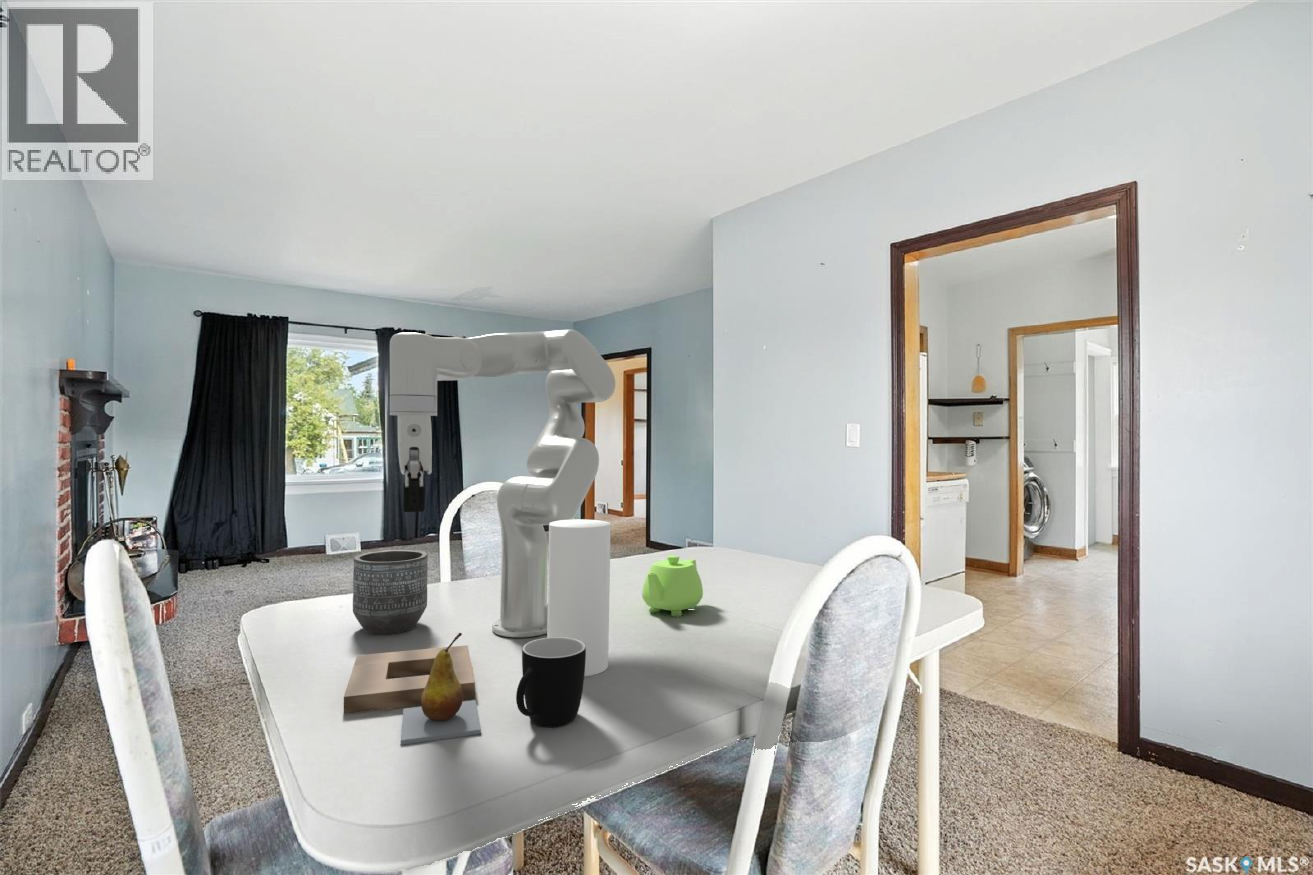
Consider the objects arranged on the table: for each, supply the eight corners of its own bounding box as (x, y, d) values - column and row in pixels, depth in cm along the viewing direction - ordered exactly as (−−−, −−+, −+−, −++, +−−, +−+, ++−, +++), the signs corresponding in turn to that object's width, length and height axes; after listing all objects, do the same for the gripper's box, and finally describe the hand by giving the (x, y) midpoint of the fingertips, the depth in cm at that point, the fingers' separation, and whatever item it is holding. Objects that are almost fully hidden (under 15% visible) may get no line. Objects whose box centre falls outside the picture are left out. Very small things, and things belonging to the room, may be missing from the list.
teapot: (673, 625, 136) (674, 566, 136) (623, 615, 143) (624, 559, 143) (717, 605, 153) (718, 553, 153) (670, 597, 160) (671, 547, 160)
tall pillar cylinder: (617, 659, 114) (619, 521, 114) (592, 681, 104) (595, 529, 104) (564, 652, 118) (566, 517, 118) (535, 672, 108) (537, 525, 108)
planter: (336, 632, 127) (337, 558, 127) (390, 614, 140) (391, 547, 140) (390, 642, 122) (391, 564, 122) (441, 622, 135) (442, 552, 135)
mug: (547, 699, 97) (549, 633, 97) (596, 713, 92) (598, 643, 92) (492, 731, 86) (493, 656, 86) (544, 747, 82) (545, 669, 82)
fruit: (450, 705, 92) (451, 623, 92) (469, 718, 88) (471, 632, 88) (412, 717, 88) (414, 631, 88) (431, 731, 84) (432, 641, 84)
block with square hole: (467, 659, 113) (467, 645, 113) (474, 698, 96) (474, 682, 96) (356, 670, 107) (357, 655, 107) (343, 714, 90) (343, 696, 90)
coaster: (475, 704, 95) (475, 700, 95) (480, 733, 85) (480, 729, 85) (403, 712, 91) (403, 708, 91) (400, 744, 82) (400, 740, 82)
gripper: (439, 406, 101) (439, 513, 101) (434, 408, 117) (434, 501, 117) (388, 405, 98) (388, 515, 98) (390, 408, 114) (390, 503, 114)
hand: (413, 507), depth 108 cm, fingers open, 9 cm apart
